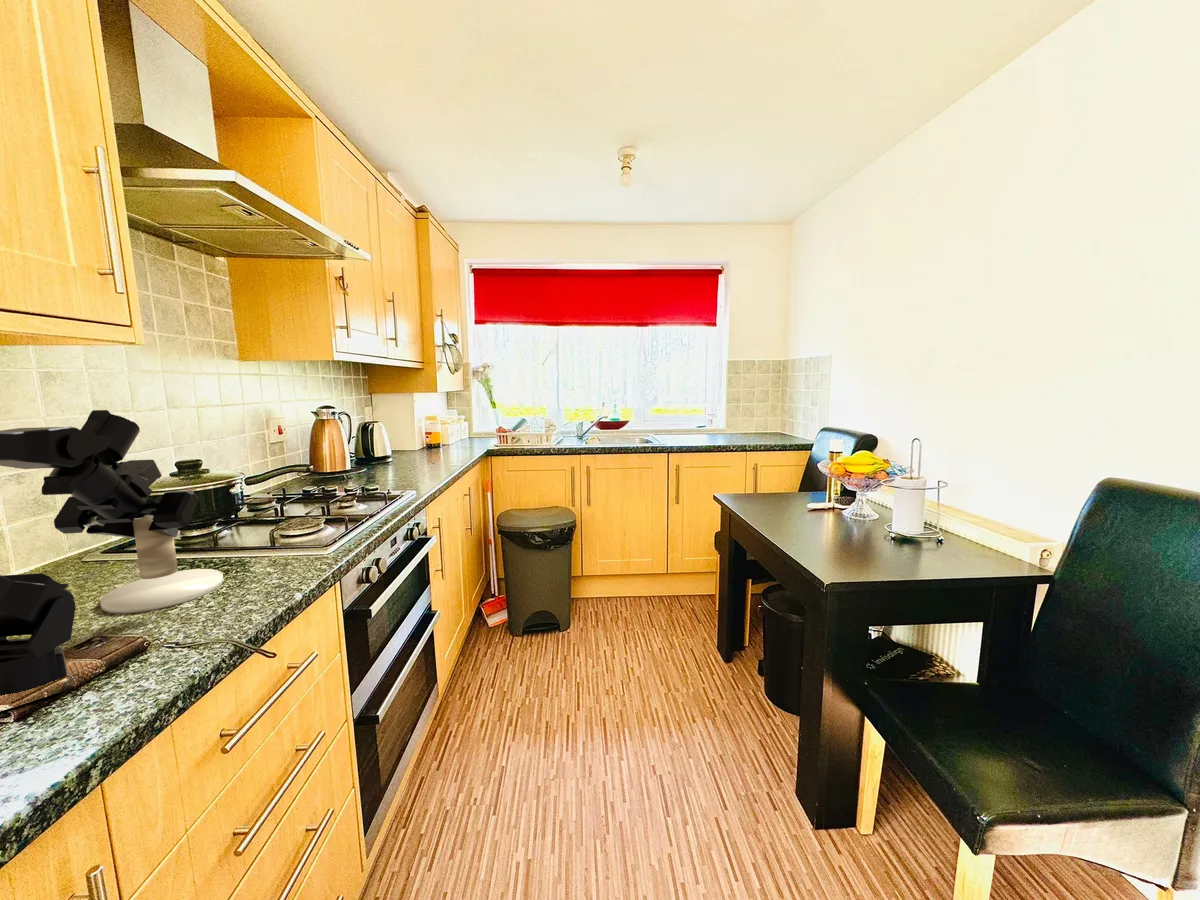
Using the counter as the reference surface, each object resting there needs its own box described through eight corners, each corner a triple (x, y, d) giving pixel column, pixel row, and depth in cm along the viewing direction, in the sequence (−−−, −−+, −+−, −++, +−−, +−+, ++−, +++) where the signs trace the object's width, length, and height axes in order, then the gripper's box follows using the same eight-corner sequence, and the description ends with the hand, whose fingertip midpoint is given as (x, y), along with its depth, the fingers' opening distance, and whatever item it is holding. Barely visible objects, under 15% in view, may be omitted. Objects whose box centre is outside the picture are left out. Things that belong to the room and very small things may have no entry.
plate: (104, 623, 85) (102, 616, 85) (98, 594, 97) (97, 588, 97) (232, 589, 98) (231, 584, 98) (213, 567, 110) (212, 562, 110)
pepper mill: (148, 580, 86) (138, 506, 84) (134, 576, 88) (124, 504, 86) (183, 571, 90) (174, 500, 88) (169, 567, 92) (160, 498, 91)
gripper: (185, 443, 83) (232, 495, 96) (58, 448, 81) (123, 500, 93) (155, 500, 77) (210, 547, 89) (17, 506, 74) (92, 554, 86)
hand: (160, 535), depth 89 cm, fingers closed on pepper mill, 5 cm apart
